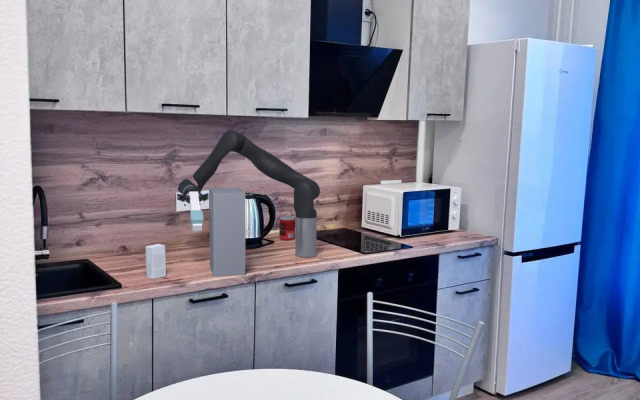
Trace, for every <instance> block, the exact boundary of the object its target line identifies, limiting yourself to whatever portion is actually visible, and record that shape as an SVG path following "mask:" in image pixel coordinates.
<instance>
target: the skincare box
mask: <svg viewBox="0 0 640 400" xmlns="http://www.w3.org/2000/svg"><path fill="white" fill-rule="evenodd" d="M166 263H167V262H166V245H165V244H162V243H156V244H151V245H147V246H145V267H146V268H145V270H146V272H145V273H146V278H147V277H148V279H151V280H156V279H159V278H163V277H166V276H167V274H166V273H167V270H166V269H167V267H166Z"/></svg>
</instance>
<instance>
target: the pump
mask: <svg viewBox="0 0 640 400" xmlns="http://www.w3.org/2000/svg"><path fill="white" fill-rule="evenodd" d="M189 196H190V204H189V210H190V212H189V213H190V215H189V218H190V219H189V220H190V222H189V223H190V229H191V231H192V232H202V231H203V230H204V212H203V210H202V209H201V206H200V205H201V204H200V202H199V197H198V191H197V192H189Z"/></svg>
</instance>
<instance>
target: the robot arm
mask: <svg viewBox="0 0 640 400" xmlns="http://www.w3.org/2000/svg"><path fill="white" fill-rule="evenodd" d="M230 152H232V153H233V152H234V153H236V154H238V155H240V156H242V157H245V158H246V159H247V160H249V161H250V162H251V164H252V165H253V167H255V168H256V169H257V170H258V171H259V172H261V173H262V174H264V176H266V177H269V178H270V179H272V180H275V181H277V182H280V183H282V184H285V185H287V186H289V187H291V188H292V189H294V190H293V210H294V212H295V239H294V240H295V241H294V243H295V244H294V248H295V249H294V256H296V257H299V258H313V257H316V255H317V220H318V219H317V215H318V213H317V210H316V209H315V207H314V200H316V199H318V197H319V196H320V193H321V188H320V185H319V184H318V183H317V182H316V181H315V180H313V179H312V178H309V177H307V176H306V175H303V174H301V173H300V172H298V171H297V170H295V169H294V168H293V167H291V166H290V165H288V164H287V163H285V162H284V161H282V160H281V159H280V158H279V157H277V156H275V155H274V154H272V153H270V152H269V151H267V150H265V149H264V148H262V147H260V146H258V145H256V144H255V143H254V142H252V141H251V140H250V139H249V138H248V137H247V136H246V135H244V134H243V133H241V132H239V131H235V130H227V131H225V132H224V133H223V134H222V136H221V137H220V139H219V140H218V142H217V143H216V145H215V146H214V148H213V150H212V151H211V152H210V154H209V155H208V156H207V157H206V159H205V160H204V162H202V164H201V165H199V167H198V168H197V169H196V171H194V173H193V174H192V177H193V180H194V181H195V182H196V184H197V185H196V184H194V183H193V182H192V181H191V180H190V179H189V178H188V179H186V178H185V179H183V181H182V180H181V181H182V182H181V181H180V182H181V183H180V182H179V183H180V184H179V183H178V185H179V187H178V186H177V190H178V192H179V193H176V200H177V201H180V202H182V203H183V202H186V203H187V204H189V205H190V196H189V192H197V191H198V197H199V203H201V202H202V201H203V202H206V201H208V200H210V193H208V192H207V193H204V194H203V193H202V190H203V188H204V187H205V185H206V184H207V182H208V181H209V180H210V179H211V178H212V177H213V176H214V175H215V173H216V172H217V170H218V168H219V166H220V163H221V162H222V160H223V159H224V158H225V157H226V156H227V155H228V154H229V153H230Z"/></svg>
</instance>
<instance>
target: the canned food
mask: <svg viewBox="0 0 640 400" xmlns="http://www.w3.org/2000/svg"><path fill="white" fill-rule="evenodd" d="M295 230H296V216H292V215H291V216H289V215H283V216H280V217H279V234H278V235H279V240H281V241H288V242H289V241H293V240H295Z"/></svg>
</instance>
